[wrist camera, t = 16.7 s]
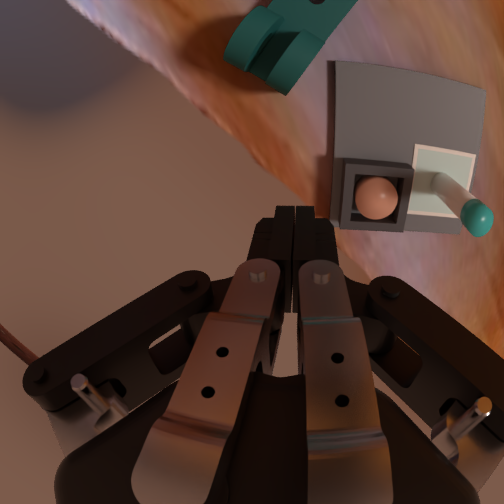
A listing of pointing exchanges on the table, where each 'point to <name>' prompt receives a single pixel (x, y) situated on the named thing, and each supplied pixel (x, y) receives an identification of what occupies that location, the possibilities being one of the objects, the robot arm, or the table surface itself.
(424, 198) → the drawing board
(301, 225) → the robot arm
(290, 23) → the bracket
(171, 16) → the table surface
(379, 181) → the button
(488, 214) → the marker
